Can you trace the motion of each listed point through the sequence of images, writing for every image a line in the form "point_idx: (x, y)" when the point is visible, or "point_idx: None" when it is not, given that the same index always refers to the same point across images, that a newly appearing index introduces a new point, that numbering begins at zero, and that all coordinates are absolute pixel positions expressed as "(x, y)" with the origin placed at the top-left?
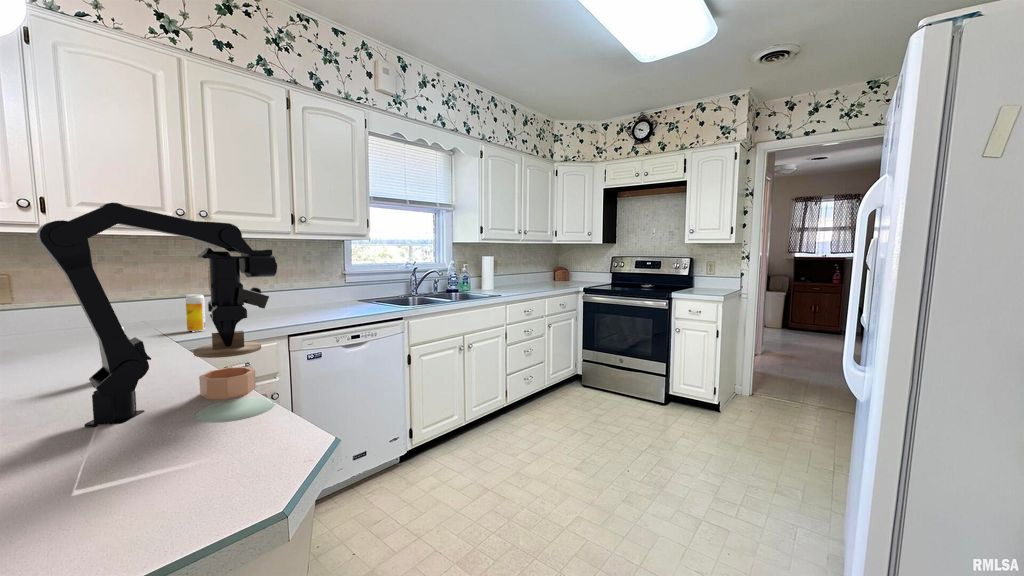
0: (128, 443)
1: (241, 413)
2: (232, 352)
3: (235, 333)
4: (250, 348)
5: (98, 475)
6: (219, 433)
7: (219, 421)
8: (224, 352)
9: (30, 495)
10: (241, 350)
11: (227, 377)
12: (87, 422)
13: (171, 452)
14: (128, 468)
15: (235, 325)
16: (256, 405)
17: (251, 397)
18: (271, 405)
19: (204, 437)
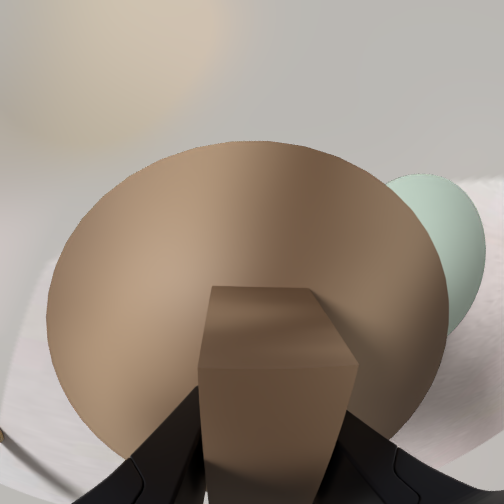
0: (423, 422)
1: (457, 268)
2: (435, 361)
3: (335, 430)
4: (407, 255)
5: (481, 415)
6: (493, 309)
7: (464, 312)
8: (401, 397)
9: (468, 446)
10: (423, 316)
11: None
12: None
13: (494, 364)
14: (491, 395)
15: (469, 488)
16: (432, 225)
17: None
18: (453, 192)
19: (489, 330)
